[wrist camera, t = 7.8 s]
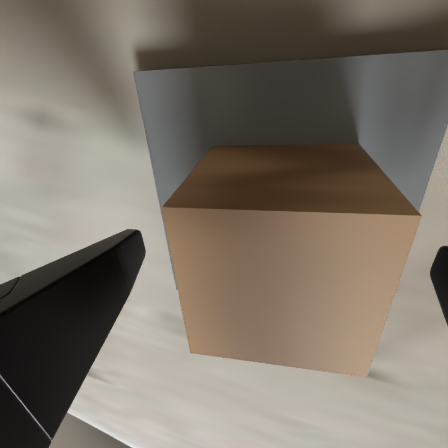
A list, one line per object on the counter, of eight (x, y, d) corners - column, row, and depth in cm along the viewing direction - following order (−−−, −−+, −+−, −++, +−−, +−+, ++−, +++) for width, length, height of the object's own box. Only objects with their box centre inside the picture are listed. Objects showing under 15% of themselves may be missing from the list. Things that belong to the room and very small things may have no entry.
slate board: (457, 49, 8) (473, 48, 7) (380, 296, 13) (385, 309, 12) (143, 70, 10) (133, 71, 9) (181, 279, 15) (176, 289, 14)
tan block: (359, 143, 9) (421, 215, 5) (337, 262, 12) (366, 377, 7) (213, 145, 10) (161, 207, 6) (222, 255, 13) (190, 353, 8)
